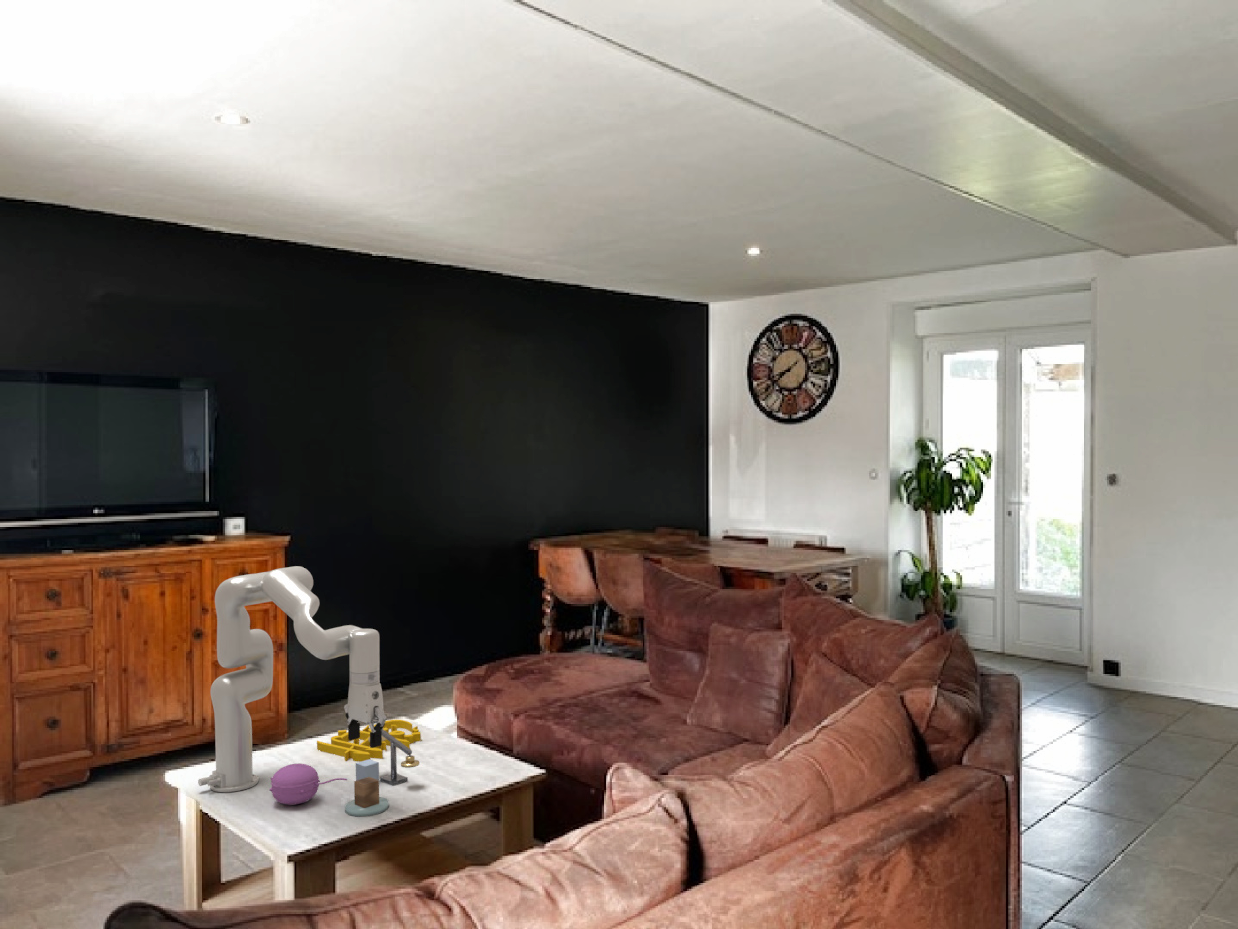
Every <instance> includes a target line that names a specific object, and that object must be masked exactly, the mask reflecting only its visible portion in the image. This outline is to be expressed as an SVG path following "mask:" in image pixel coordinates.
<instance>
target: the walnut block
mask: <svg viewBox="0 0 1238 929" xmlns="http://www.w3.org/2000/svg"><path fill="white" fill-rule="evenodd" d="M353 783H354V785H353V787H354V790H353V791H354V792H353V793H354V794H353V795H354V799H355V805H357V806H360V807H362V808H367V807H370V806H373V805H376V804H379V797H380V779H379V780H376V779H374V778H371V777H367V778H364V779H360V780H357V781H356V780H354V781H353Z"/></svg>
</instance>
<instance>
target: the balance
mask: <svg viewBox="0 0 1238 929" xmlns="http://www.w3.org/2000/svg"><path fill="white" fill-rule="evenodd" d="M386 739H387V740H388V741H390V746H389V747H390V774H388V775H385V776H381V777H379V782H382V783H384V784H386V785H390V786H392V787H393V786H396V785H400V784H402V783H406V782H408V781H409V780H408V777H407V776H404V775H402V774H399V773H398V767H397V762H398V761H397V748H396V747H398V749H399V750H400V751H401V752H402V753H404V754H405V755H407V756H405V760H403V761H401V762H400V767H402V768H415V767H418V766H419V765H420V760H418V759H415V755H412V754H413V750H411V749H409V748H408V747H406V746H405V745H404V744H402V743H401V742H400V741H398V740H397V739H395V738H394V737H393V736H391V735H390V734H389V733H387V732H386V731H385V730H382V741H385V740H386ZM368 741H369V742H370V737H369V738H368Z"/></svg>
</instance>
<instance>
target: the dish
mask: <svg viewBox="0 0 1238 929" xmlns="http://www.w3.org/2000/svg"><path fill="white" fill-rule="evenodd" d="M389 802H390V801H389V799H388V798H387V797H386V798H385V797H383V796H379V804H376V805H373V806H370V807H367V808H362V807H360V806H357V805H355V798H354V799H351V800H349V801H347V803H345V805H344V813H345V814H346V815H349V816H351V817H370V816H371V817H372V816H376V815H379V814H381V813H384V812H385V811H387V810H388V809H389V807H390V806H389V804H390V803H389Z"/></svg>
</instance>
